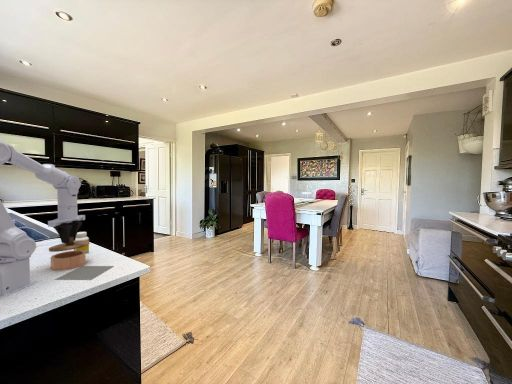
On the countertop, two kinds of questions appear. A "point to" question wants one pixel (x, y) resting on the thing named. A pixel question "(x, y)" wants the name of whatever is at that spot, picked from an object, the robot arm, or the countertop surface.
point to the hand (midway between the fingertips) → (68, 241)
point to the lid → (69, 245)
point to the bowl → (68, 260)
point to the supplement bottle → (82, 237)
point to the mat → (85, 273)
